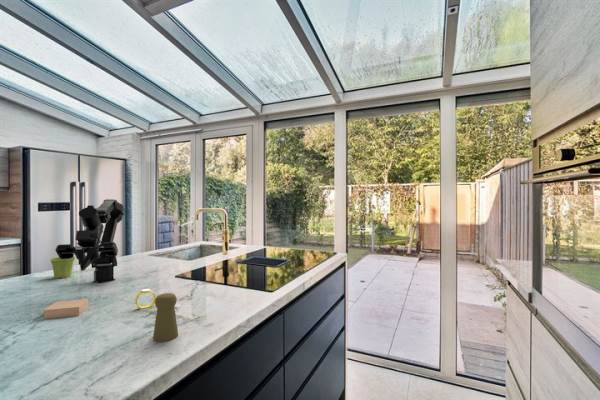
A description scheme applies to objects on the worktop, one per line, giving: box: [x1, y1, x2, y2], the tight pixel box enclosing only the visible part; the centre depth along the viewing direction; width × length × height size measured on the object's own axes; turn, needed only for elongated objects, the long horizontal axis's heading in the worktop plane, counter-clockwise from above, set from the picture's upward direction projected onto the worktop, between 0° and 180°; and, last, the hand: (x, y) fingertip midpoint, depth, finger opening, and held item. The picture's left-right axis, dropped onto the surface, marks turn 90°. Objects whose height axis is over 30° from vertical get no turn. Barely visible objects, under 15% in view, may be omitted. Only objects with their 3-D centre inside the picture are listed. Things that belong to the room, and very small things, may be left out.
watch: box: [134, 288, 157, 310], centre depth 101 cm, size 6×3×6 cm, turn 127°
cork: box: [152, 292, 179, 343], centre depth 80 cm, size 6×6×11 cm
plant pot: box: [49, 255, 77, 279], centre depth 141 cm, size 9×9×9 cm
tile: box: [43, 298, 89, 320], centre depth 97 cm, size 3×9×8 cm
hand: (82, 269), depth 109 cm, fingers closed
